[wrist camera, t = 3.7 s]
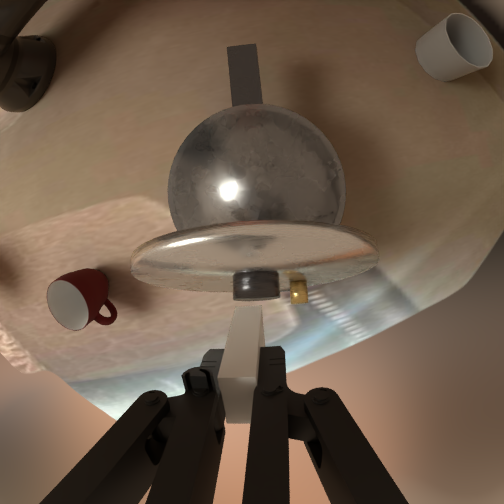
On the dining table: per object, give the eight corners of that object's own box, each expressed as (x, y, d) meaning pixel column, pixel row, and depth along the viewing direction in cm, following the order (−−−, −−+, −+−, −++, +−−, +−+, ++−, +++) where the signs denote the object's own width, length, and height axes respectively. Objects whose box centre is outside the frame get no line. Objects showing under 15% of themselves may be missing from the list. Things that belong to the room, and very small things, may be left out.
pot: (180, 79, 38) (156, 58, 29) (316, 65, 37) (328, 38, 27) (200, 268, 46) (182, 294, 36) (332, 258, 44) (347, 283, 34)
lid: (78, 236, 16) (74, 289, 15) (417, 208, 15) (428, 265, 14) (182, 287, 36) (182, 313, 35) (347, 276, 34) (349, 303, 33)
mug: (138, 285, 47) (110, 313, 38) (120, 320, 49) (94, 350, 40) (88, 249, 46) (53, 268, 36) (74, 285, 48) (41, 308, 39)
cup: (429, 85, 36) (463, 70, 26) (406, 38, 34) (434, 14, 24) (466, 77, 34) (501, 64, 25) (444, 33, 33) (475, 12, 23)
